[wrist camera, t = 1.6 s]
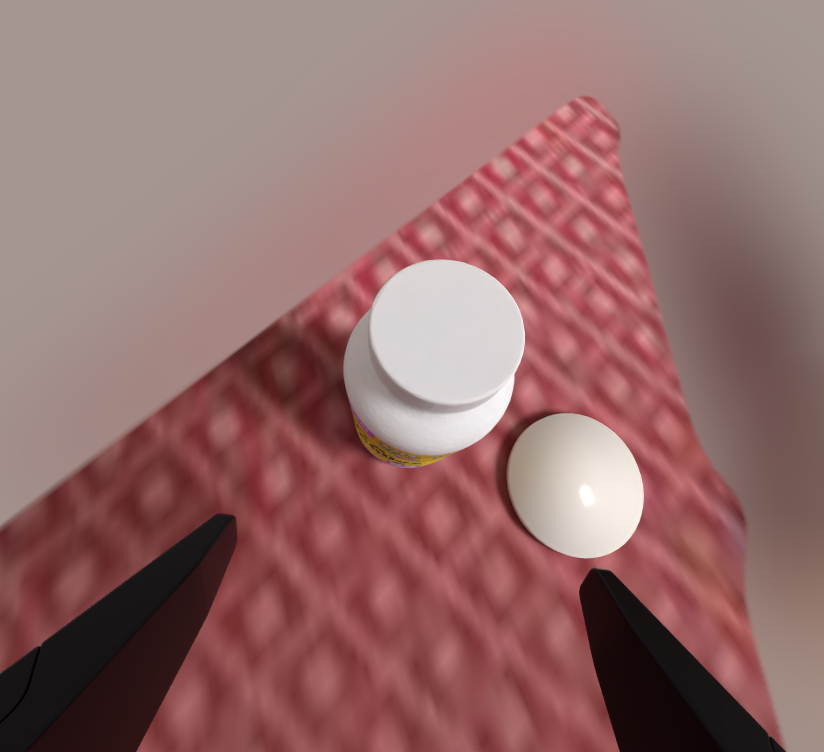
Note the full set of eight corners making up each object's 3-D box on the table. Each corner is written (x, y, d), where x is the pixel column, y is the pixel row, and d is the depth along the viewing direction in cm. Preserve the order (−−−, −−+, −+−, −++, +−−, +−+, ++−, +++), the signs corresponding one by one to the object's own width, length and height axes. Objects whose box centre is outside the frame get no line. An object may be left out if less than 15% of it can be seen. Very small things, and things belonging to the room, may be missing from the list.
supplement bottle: (331, 414, 22) (280, 318, 10) (406, 346, 24) (440, 195, 12) (409, 494, 21) (456, 495, 9) (480, 416, 23) (600, 329, 11)
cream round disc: (543, 580, 20) (547, 582, 20) (485, 439, 23) (488, 438, 22) (661, 524, 22) (668, 525, 21) (596, 398, 24) (602, 396, 24)
